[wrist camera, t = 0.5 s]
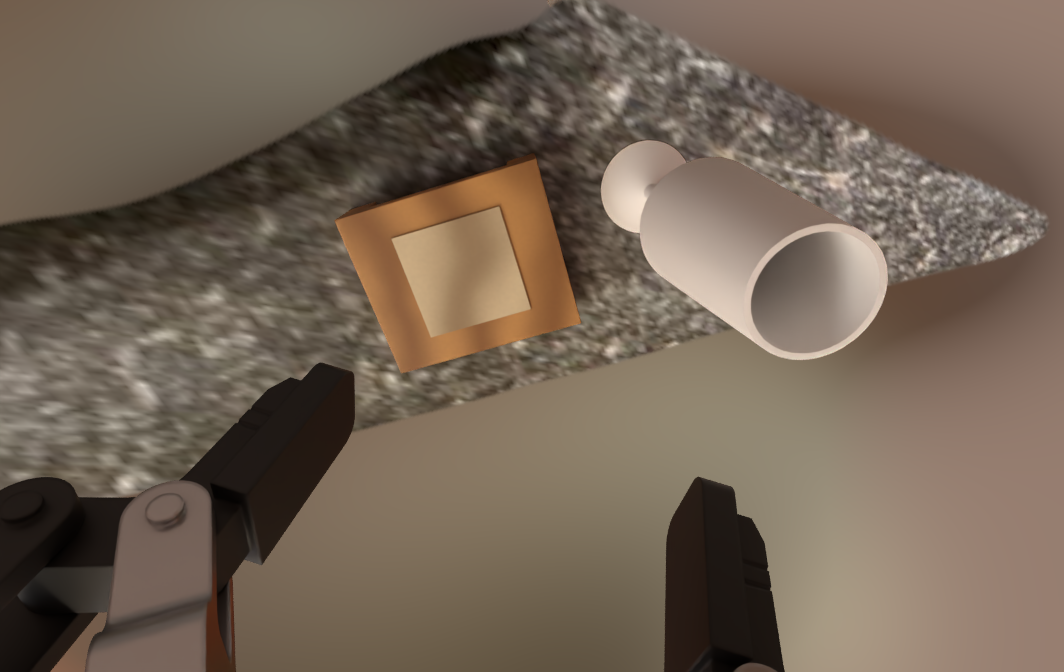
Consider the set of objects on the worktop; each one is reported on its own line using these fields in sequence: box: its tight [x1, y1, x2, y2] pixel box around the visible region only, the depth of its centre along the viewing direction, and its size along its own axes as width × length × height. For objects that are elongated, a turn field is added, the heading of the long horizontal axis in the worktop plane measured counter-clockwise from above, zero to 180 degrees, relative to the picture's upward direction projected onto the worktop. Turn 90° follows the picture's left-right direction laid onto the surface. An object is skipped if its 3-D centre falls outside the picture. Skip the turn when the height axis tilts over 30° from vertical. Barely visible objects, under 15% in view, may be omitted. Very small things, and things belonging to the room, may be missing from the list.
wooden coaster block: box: [335, 153, 581, 373], centre depth 39 cm, size 14×12×4 cm
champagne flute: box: [601, 140, 888, 360], centre depth 29 cm, size 7×7×24 cm
